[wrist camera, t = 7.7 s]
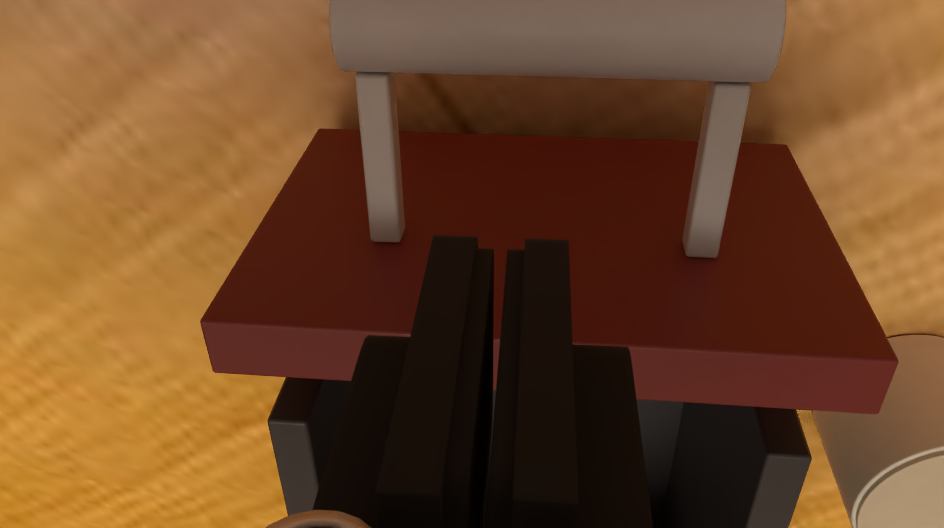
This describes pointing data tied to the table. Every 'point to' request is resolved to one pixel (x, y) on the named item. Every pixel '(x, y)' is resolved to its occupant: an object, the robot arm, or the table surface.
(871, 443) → the cylinder
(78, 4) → the table surface
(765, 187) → the drawer
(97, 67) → the table surface
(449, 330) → the robot arm
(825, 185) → the table surface
